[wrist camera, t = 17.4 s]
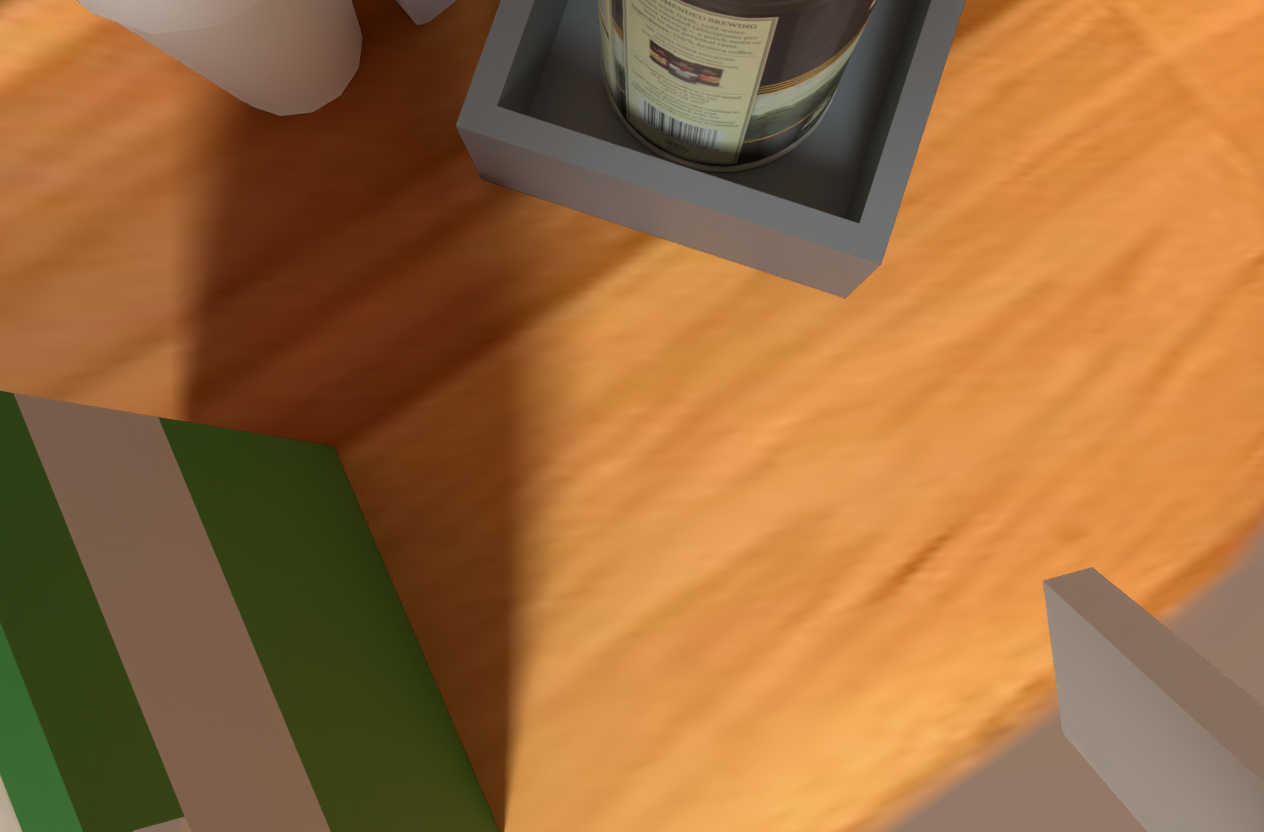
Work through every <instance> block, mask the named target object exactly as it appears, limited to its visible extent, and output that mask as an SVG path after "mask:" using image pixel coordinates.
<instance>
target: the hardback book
mask: <svg viewBox="0 0 1264 832" xmlns="http://www.w3.org/2000/svg"><path fill="white" fill-rule="evenodd" d="M182 817H185V819H186V821H187V823H188V825H189V827H190V829H191V831H192V832H500V831H499V829H498V826H497V824H496V822H495V819H494V817H493V815H492V812H491V810H490V808H489V805H488V803H487V801H486V798H485V796H484V794H483V791H482V789H481V787H480V784H479V782H478V780H477V777H476V775H475V773H474V771H473V768H472V766H471V764H470V761H469V759H468V757H467V754H466V752H465V750H464V747H463V745H462V743H461V740H460V738H459V736H458V733H457V731H456V729H455V726H454V724H453V722H452V719H451V717H450V715H449V712H448V710H447V708H446V705H445V703H444V701H443V698H442V696H441V694H440V692H439V689H438V687H437V685H436V682H435V680H434V678H433V675H432V673H431V671H430V668H429V666H428V664H427V661H426V659H425V657H424V654H423V652H422V650H421V647H420V645H419V643H418V640H417V638H416V636H415V633H414V631H413V629H412V626H411V624H410V622H409V620H408V617H407V615H406V613H405V610H404V608H403V606H402V603H401V601H400V599H399V596H398V594H397V592H396V589H395V587H394V585H393V582H392V580H391V578H390V575H389V573H388V571H387V568H386V566H385V564H384V561H383V559H382V557H381V554H380V552H379V550H378V547H377V545H376V543H375V541H374V538H373V536H372V534H371V531H370V529H369V527H368V524H367V522H366V520H365V517H364V515H363V513H362V510H361V508H360V506H359V503H358V501H357V499H356V496H355V494H354V492H353V489H352V487H351V485H350V482H349V480H348V478H347V475H346V473H345V471H344V468H343V466H342V464H341V462H340V459H339V457H338V455H337V452H336V450H335V448H334V446H330V445H324V444H318V443H312V442H306V441H299V440H293V439H287V438H281V437H275V436H269V435H263V434H257V433H251V432H245V431H239V430H233V429H227V428H221V427H215V426H209V425H203V424H197V423H191V422H185V421H179V420H173V419H167V418H161V417H155V416H148V415H142V414H136V413H130V412H124V411H118V410H112V409H106V408H100V407H94V406H88V405H82V404H76V403H70V402H64V401H58V400H52V399H46V398H40V397H34V396H28V395H22V394H16V393H10V392H4V391H0V832H133V831H134V830H138V829H142V828H145V827H149V826H152V825H156V824H160V823H163V822H167V821H171V820H174V819H178V818H182Z"/></svg>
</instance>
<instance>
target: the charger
mask: <svg viewBox="0 0 1264 832" xmlns="http://www.w3.org/2000/svg"><path fill="white" fill-rule="evenodd" d="M396 1H397V3H398V4H399V5H400V6H401V7H402V8H403V10H404V11H405V12H406V13H407V14H408V15H409V17H410V18H411V19H412V20H413V21H414V22H415V23H416V24H417V25H422V24H425V23H428V22H430V21H431V20H432V19H434V18H435V17H436V16H438V15H439V14H440V13H441V12H443V11H444V10H445V9H446V8H448V7H449V6H450V5H451V4H453V3H454V2H455V1H456V0H396Z"/></svg>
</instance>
